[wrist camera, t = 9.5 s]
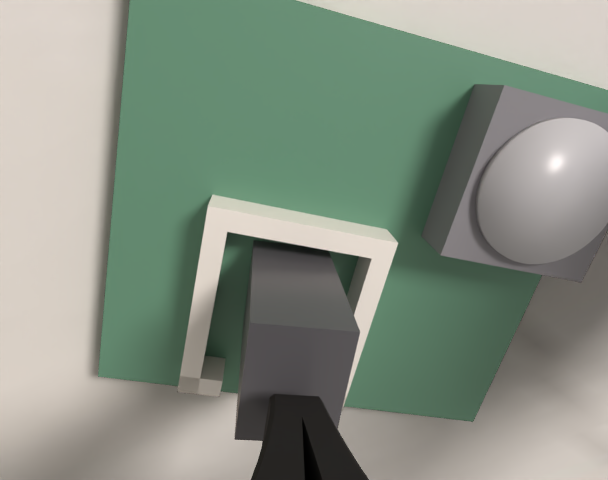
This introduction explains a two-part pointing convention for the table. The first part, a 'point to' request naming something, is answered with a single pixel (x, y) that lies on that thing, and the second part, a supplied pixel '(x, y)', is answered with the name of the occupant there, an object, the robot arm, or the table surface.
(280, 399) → the robot arm
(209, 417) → the table surface
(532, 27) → the table surface
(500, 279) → the board
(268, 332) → the plug
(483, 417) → the table surface
